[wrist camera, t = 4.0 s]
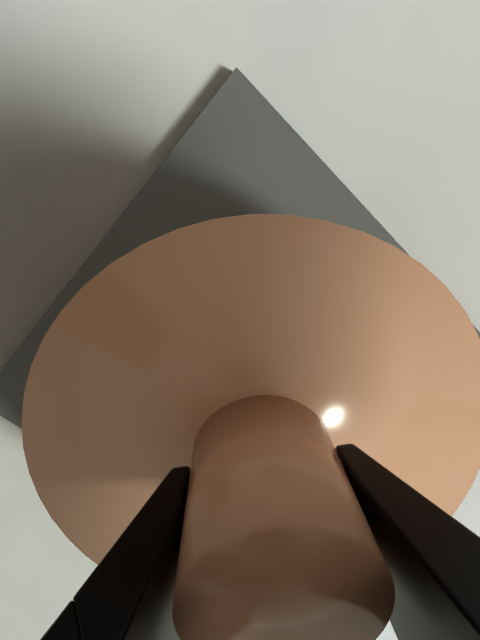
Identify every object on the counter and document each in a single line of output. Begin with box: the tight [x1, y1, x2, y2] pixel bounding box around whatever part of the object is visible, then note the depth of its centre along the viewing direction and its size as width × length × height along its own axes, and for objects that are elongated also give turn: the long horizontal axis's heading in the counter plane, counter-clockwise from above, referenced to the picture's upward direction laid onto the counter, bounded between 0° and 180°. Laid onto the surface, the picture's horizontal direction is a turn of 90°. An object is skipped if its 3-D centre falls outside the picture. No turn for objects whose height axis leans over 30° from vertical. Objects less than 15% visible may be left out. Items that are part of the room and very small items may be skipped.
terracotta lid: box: [21, 214, 480, 640], centre depth 8 cm, size 12×12×4 cm
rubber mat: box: [0, 67, 480, 428], centre depth 13 cm, size 14×14×1 cm
